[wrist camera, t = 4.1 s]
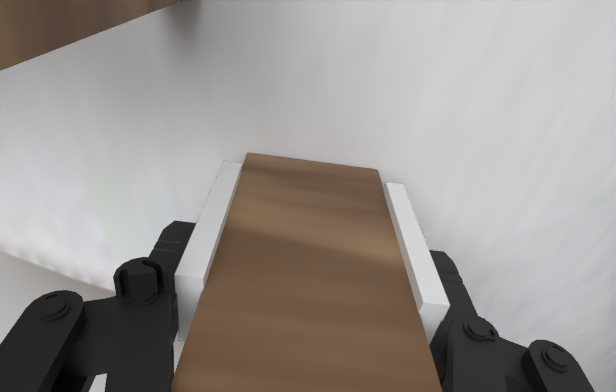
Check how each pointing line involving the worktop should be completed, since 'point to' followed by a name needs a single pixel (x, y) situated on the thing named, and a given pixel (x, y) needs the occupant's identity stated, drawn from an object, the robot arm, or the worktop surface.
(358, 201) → the loose domino
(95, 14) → the domino
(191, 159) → the worktop surface
